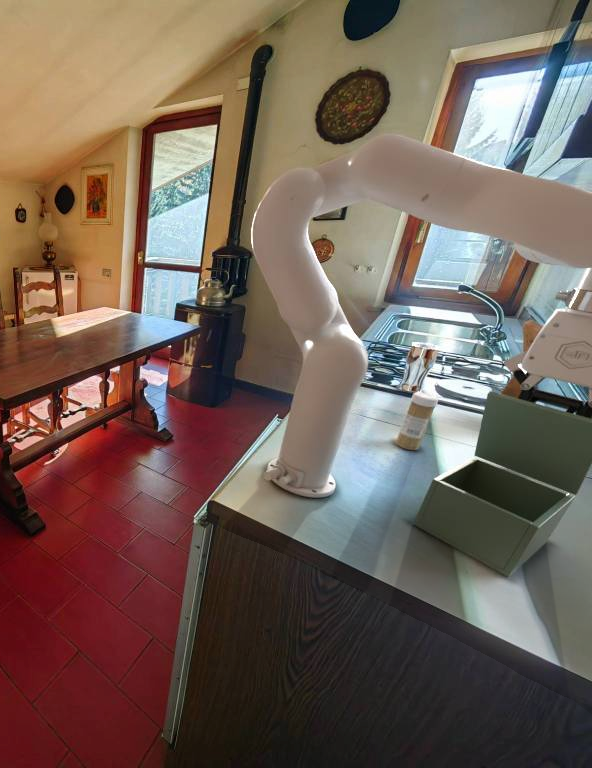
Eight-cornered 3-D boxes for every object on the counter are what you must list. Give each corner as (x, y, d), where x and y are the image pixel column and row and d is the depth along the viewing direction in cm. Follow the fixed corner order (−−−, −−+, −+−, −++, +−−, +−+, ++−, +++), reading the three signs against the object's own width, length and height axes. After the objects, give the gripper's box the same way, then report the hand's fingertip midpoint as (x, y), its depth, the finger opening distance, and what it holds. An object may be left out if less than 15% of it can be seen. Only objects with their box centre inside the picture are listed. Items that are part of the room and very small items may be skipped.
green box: (508, 577, 59) (538, 527, 55) (412, 524, 69) (432, 478, 66) (546, 542, 66) (575, 496, 62) (453, 498, 76) (474, 456, 72)
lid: (609, 428, 53) (630, 403, 54) (487, 393, 63) (506, 373, 64) (575, 495, 62) (594, 473, 63) (474, 455, 72) (491, 437, 73)
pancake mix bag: (480, 434, 100) (530, 328, 89) (482, 411, 112) (526, 316, 102) (517, 444, 96) (575, 334, 85) (515, 419, 108) (565, 320, 97)
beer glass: (390, 386, 129) (406, 343, 123) (405, 384, 131) (421, 341, 125) (412, 395, 122) (430, 349, 117) (428, 392, 124) (446, 348, 119)
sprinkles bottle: (421, 447, 94) (442, 396, 88) (413, 452, 91) (435, 401, 86) (398, 439, 97) (418, 389, 92) (391, 444, 95) (410, 394, 90)
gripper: (515, 296, 60) (467, 402, 67) (712, 321, 46) (626, 451, 53) (534, 293, 63) (487, 395, 70) (724, 315, 49) (642, 439, 56)
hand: (547, 418), depth 61 cm, fingers closed on lid, 5 cm apart
